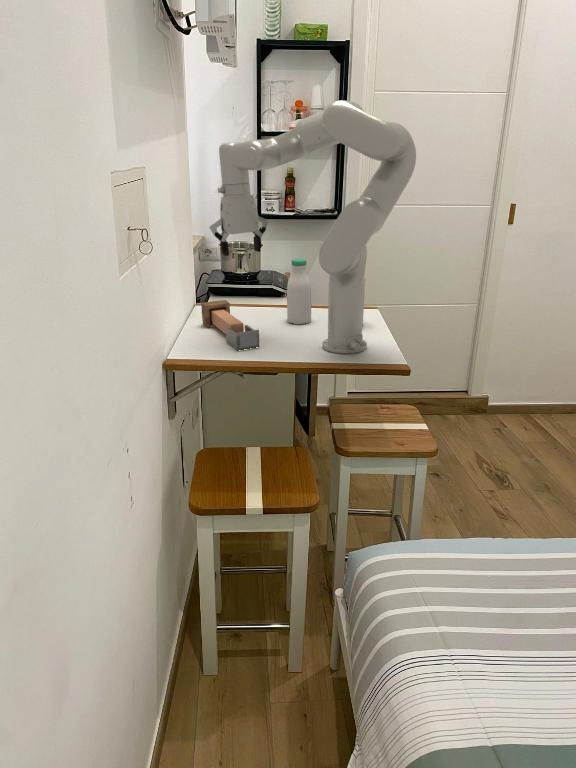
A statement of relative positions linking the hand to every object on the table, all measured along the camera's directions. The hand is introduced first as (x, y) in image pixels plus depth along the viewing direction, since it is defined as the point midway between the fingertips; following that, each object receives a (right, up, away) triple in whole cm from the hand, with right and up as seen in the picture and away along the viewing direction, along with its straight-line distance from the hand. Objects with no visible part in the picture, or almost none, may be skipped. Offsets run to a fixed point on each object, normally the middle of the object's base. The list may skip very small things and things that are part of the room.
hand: (241, 253), depth 174 cm
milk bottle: (+17, -17, +23) cm, 33 cm away
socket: (-10, -18, +20) cm, 29 cm away
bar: (-6, -20, +13) cm, 25 cm away
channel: (0, -26, +1) cm, 26 cm away
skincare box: (+32, -19, +18) cm, 42 cm away
